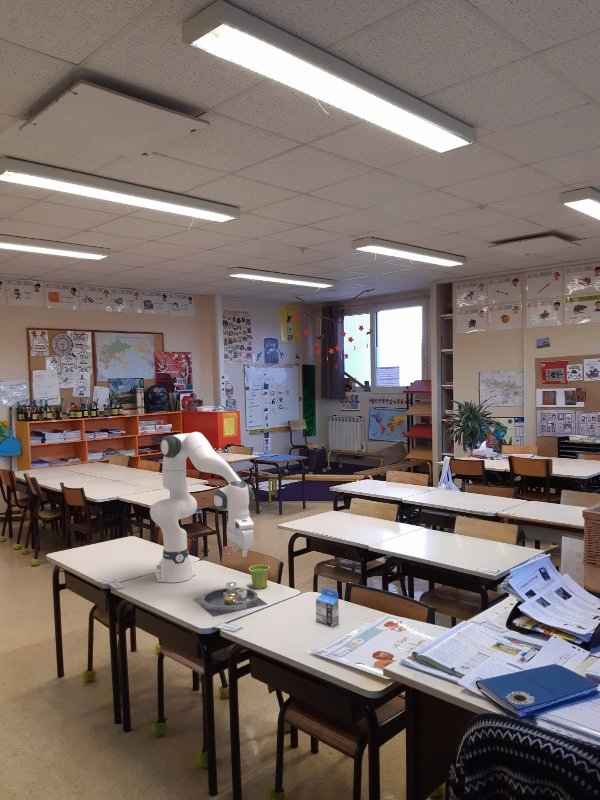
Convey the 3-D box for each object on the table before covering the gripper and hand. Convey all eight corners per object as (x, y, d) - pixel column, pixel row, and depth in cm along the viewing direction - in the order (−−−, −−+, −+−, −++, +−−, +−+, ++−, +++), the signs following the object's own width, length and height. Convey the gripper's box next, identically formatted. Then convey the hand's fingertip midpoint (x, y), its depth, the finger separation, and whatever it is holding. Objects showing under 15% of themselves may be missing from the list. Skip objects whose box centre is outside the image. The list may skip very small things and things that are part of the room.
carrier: (192, 601, 255) (192, 586, 255) (244, 590, 267) (243, 575, 267) (213, 619, 234) (212, 602, 234) (268, 607, 246) (267, 590, 246)
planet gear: (230, 603, 249) (230, 589, 249) (245, 599, 252) (245, 586, 252) (237, 608, 243) (237, 594, 242) (252, 604, 246) (252, 591, 246)
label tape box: (315, 621, 230) (314, 589, 230) (322, 617, 233) (321, 586, 233) (332, 627, 224) (331, 594, 223) (339, 623, 227) (338, 591, 226)
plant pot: (248, 590, 267) (247, 571, 267) (250, 583, 276) (249, 565, 276) (269, 589, 267) (268, 570, 267) (270, 583, 276) (269, 564, 276)
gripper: (222, 517, 256) (223, 549, 257) (241, 526, 238) (242, 561, 239) (236, 515, 259) (237, 546, 260) (255, 524, 241) (256, 558, 242)
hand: (239, 553), depth 249 cm, fingers open, 8 cm apart
